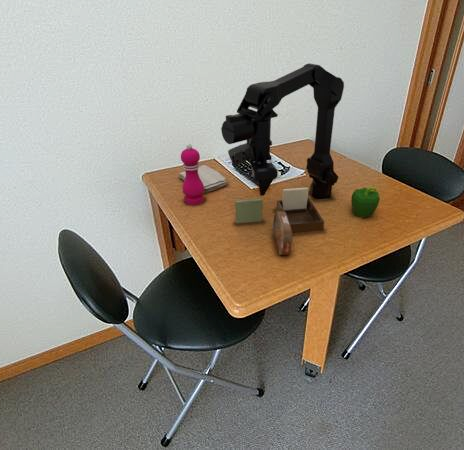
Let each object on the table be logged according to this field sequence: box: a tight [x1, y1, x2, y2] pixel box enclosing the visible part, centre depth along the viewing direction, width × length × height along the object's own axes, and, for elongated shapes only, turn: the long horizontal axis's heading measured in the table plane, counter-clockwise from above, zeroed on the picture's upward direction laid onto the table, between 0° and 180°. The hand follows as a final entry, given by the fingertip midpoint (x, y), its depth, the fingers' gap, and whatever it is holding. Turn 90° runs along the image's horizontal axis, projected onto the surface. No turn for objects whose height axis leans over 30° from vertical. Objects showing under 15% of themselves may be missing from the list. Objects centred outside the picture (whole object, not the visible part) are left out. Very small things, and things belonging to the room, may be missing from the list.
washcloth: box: [178, 164, 229, 195], centre depth 127 cm, size 12×18×3 cm, turn 40°
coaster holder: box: [275, 197, 325, 235], centre depth 105 cm, size 14×11×4 cm
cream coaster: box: [281, 186, 310, 210], centre depth 108 cm, size 1×8×8 cm, turn 100°
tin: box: [272, 210, 293, 256], centre depth 93 cm, size 15×3×8 cm, turn 5°
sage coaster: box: [235, 198, 264, 224], centre depth 102 cm, size 1×8×8 cm, turn 100°
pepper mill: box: [180, 143, 205, 206], centre depth 111 cm, size 7×7×20 cm
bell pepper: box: [350, 186, 381, 219], centre depth 107 cm, size 8×8×10 cm
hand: (258, 187), depth 99 cm, fingers open, 9 cm apart
